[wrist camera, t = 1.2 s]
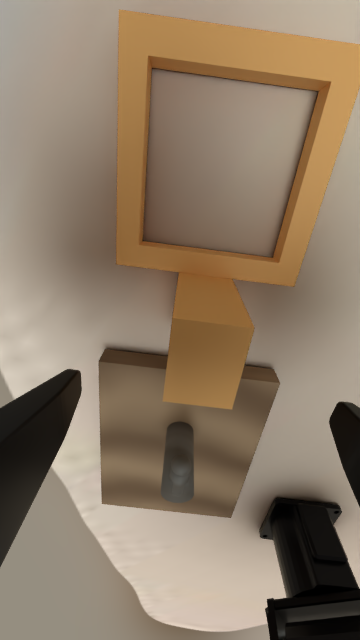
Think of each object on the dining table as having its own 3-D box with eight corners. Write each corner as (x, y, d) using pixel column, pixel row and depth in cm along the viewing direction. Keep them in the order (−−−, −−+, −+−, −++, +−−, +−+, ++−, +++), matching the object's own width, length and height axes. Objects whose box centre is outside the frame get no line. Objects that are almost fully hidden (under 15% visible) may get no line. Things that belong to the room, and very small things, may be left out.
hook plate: (228, 500, 26) (238, 583, 21) (106, 487, 26) (83, 567, 20) (273, 369, 19) (307, 443, 13) (105, 349, 19) (69, 415, 13)
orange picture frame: (125, 26, 11) (44, -175, 5) (355, 59, 11) (553, -95, 5) (120, 319, 18) (80, 391, 11) (269, 337, 18) (312, 418, 11)
